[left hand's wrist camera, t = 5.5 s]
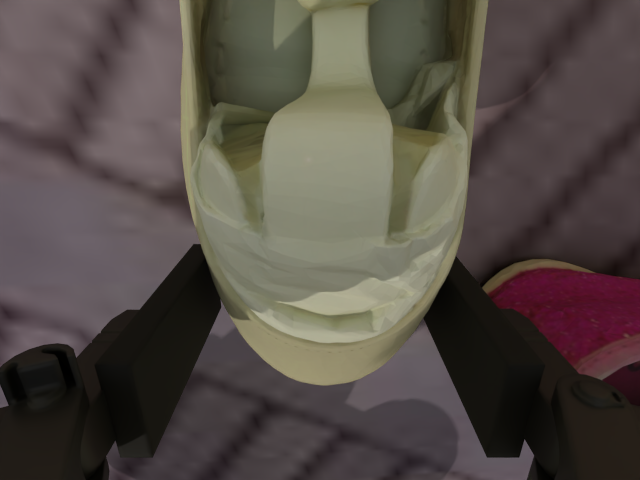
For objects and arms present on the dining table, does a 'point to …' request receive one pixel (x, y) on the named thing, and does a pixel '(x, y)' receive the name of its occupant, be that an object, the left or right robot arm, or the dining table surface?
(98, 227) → the dining table surface
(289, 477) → the dining table surface
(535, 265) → the shoe
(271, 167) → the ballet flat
